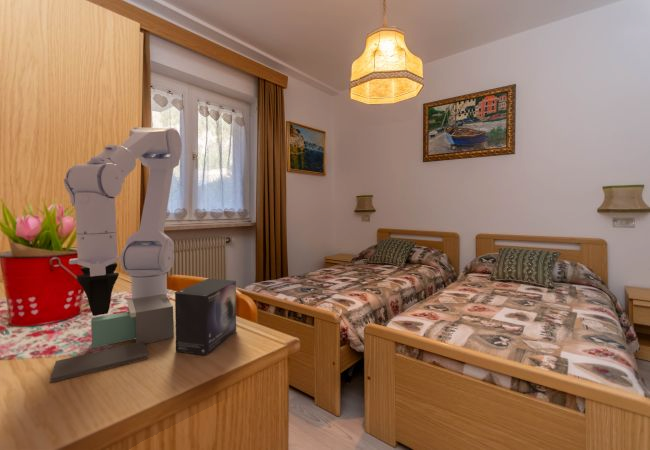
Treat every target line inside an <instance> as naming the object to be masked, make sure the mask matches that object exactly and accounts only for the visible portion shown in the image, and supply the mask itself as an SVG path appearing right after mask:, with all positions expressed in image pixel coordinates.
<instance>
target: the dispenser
mask: <svg viewBox="0 0 650 450" xmlns="http://www.w3.org/2000/svg"><path fill="white" fill-rule="evenodd" d="M126 300H127V307H128V312H130V317H135V330H136V339H135V343H139V342H143V341H144V344H145V345H146V344H150V343H154V342H159V341H163V340H169V339H171V338H174V337H175V328H174V327H175V324H174V305H173V303H172V302H171V301H170V299H169V297H168V295H167V296H166V294H161V295H154V296H148V297H141V298H134V299H132V297H131V298H127V299H126Z"/></svg>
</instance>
